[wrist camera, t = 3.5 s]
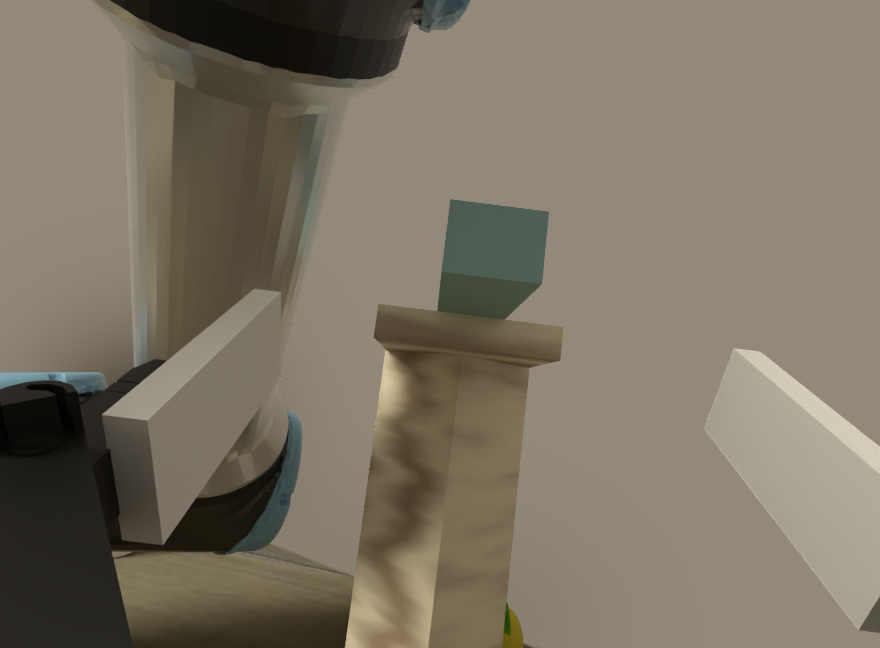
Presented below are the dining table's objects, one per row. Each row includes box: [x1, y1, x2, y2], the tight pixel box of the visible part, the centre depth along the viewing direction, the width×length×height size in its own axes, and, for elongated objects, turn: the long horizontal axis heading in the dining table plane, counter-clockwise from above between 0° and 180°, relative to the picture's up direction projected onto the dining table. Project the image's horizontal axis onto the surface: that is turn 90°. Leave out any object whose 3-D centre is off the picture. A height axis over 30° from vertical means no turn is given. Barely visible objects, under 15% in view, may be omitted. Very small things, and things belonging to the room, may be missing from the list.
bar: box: [437, 200, 549, 320], centre depth 33 cm, size 26×4×3 cm, turn 1°
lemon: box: [502, 601, 523, 648], centre depth 45 cm, size 7×6×10 cm
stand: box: [345, 304, 563, 648], centre depth 37 cm, size 11×18×30 cm, turn 1°
